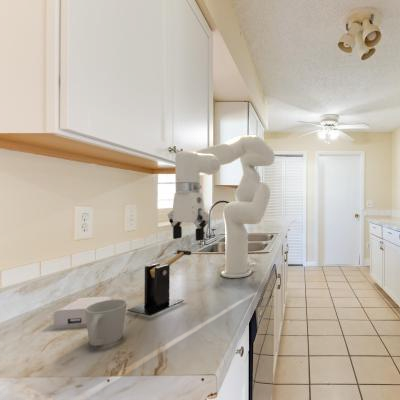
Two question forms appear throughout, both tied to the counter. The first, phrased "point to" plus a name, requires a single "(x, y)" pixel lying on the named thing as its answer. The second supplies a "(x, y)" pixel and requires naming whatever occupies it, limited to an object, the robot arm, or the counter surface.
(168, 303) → the bracket
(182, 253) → the tap lever
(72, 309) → the charger
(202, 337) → the counter surface
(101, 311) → the cup
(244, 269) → the robot arm
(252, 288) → the counter surface
